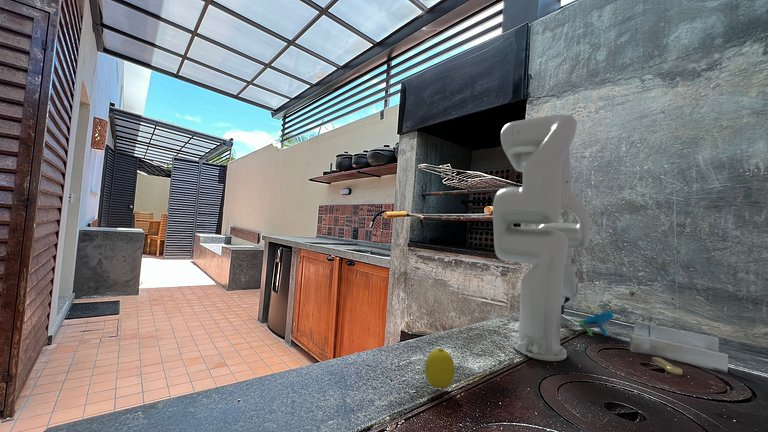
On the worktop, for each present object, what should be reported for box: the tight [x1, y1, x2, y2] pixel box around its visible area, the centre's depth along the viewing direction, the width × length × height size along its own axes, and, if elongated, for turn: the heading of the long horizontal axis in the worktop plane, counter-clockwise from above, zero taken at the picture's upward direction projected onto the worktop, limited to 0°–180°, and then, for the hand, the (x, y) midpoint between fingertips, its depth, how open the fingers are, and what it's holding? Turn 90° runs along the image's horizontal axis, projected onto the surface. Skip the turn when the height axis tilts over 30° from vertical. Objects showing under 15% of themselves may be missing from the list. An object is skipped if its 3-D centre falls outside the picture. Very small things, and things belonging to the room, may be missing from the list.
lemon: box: [424, 347, 456, 390], centre depth 59 cm, size 6×6×8 cm
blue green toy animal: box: [578, 310, 615, 337], centre depth 94 cm, size 11×6×10 cm
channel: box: [629, 319, 729, 374], centre depth 83 cm, size 20×18×4 cm
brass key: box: [651, 356, 683, 376], centre depth 72 cm, size 7×3×1 cm, turn 173°
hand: (558, 315), depth 102 cm, fingers closed
